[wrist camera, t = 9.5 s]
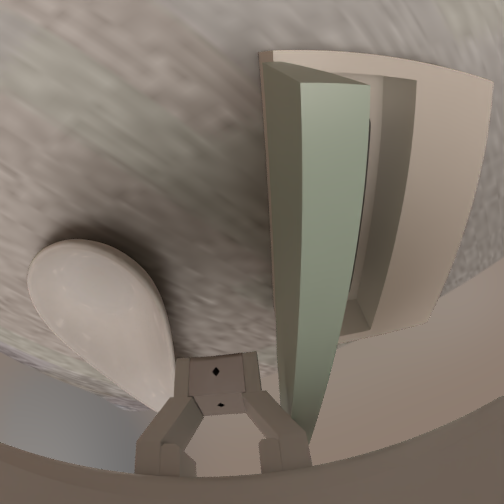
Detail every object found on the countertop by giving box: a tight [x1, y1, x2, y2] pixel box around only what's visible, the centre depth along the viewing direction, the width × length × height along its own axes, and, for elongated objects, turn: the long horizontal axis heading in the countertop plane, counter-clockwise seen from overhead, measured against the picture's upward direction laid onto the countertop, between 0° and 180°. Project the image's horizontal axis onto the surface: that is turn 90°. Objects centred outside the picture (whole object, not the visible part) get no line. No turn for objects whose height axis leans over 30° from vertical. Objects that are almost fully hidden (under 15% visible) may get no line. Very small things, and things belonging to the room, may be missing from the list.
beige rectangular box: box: [258, 50, 493, 344], centre depth 19 cm, size 13×20×5 cm, turn 4°
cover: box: [262, 62, 370, 446], centre depth 12 cm, size 10×19×1 cm
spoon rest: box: [27, 239, 176, 412], centre depth 24 cm, size 24×12×7 cm, turn 26°
